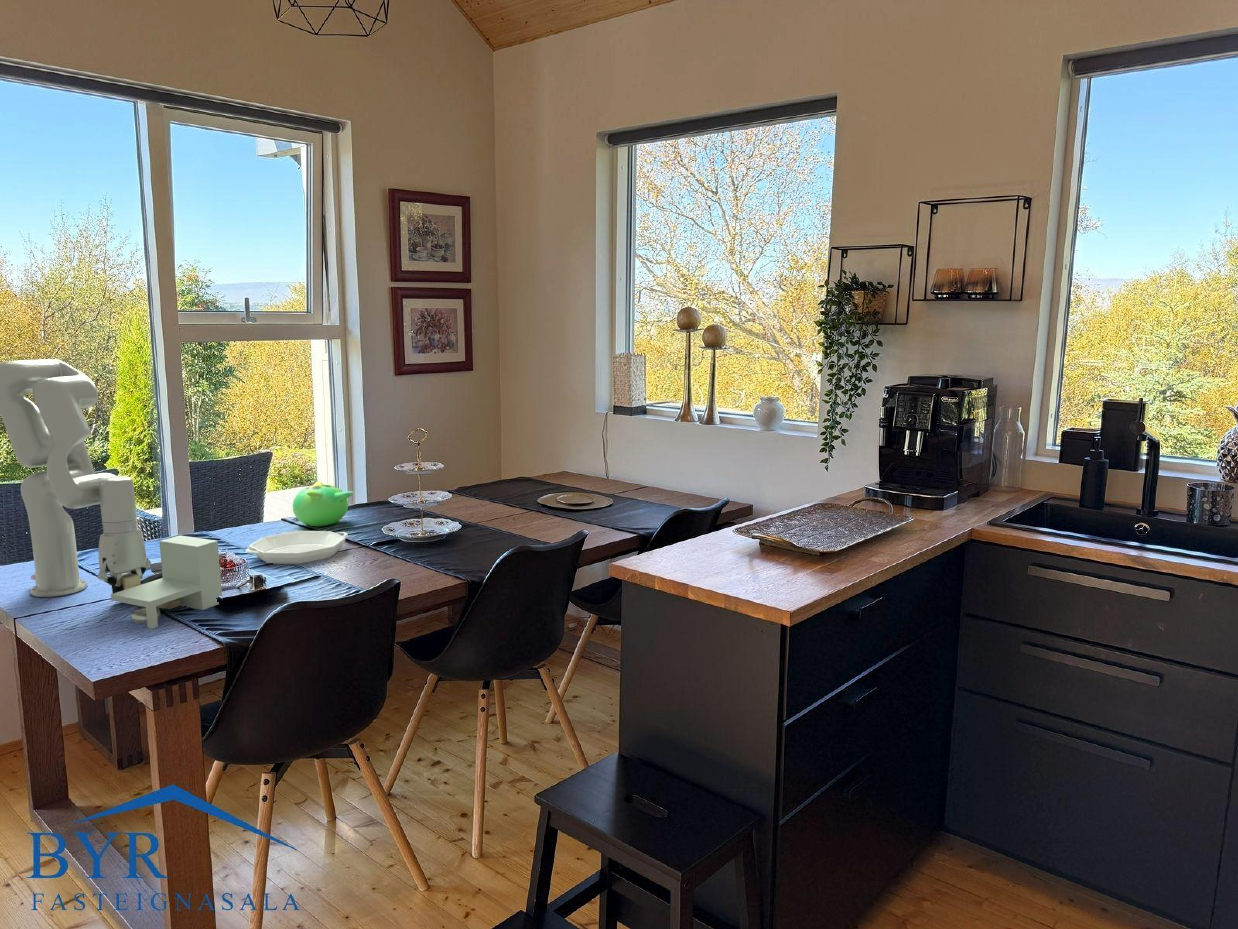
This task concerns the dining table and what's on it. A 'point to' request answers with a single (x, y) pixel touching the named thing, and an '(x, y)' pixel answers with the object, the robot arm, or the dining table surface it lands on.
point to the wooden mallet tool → (134, 580)
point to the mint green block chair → (153, 577)
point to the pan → (297, 547)
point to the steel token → (142, 616)
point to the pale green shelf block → (180, 578)
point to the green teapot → (321, 504)
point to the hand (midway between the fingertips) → (127, 597)
